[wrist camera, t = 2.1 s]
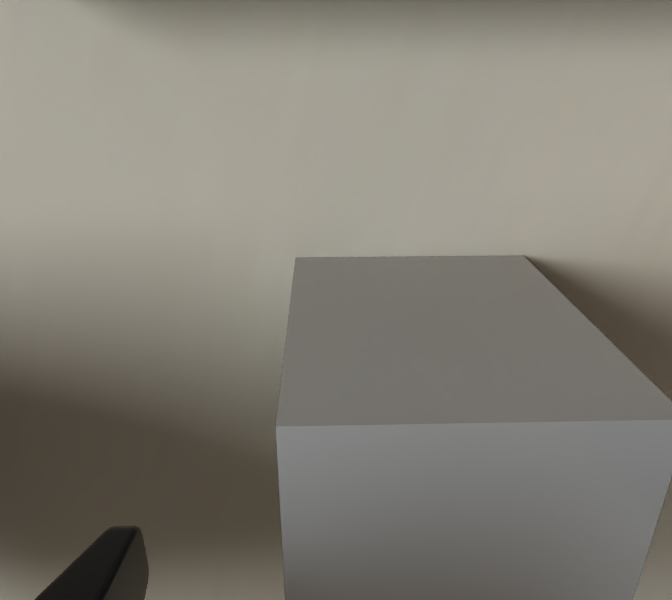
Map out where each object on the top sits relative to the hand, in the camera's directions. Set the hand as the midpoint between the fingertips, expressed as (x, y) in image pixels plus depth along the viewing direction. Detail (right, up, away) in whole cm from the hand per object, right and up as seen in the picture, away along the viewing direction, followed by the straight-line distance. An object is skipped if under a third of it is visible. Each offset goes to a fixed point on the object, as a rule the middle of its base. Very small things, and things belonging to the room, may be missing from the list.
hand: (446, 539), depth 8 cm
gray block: (0, +2, +5) cm, 5 cm away
